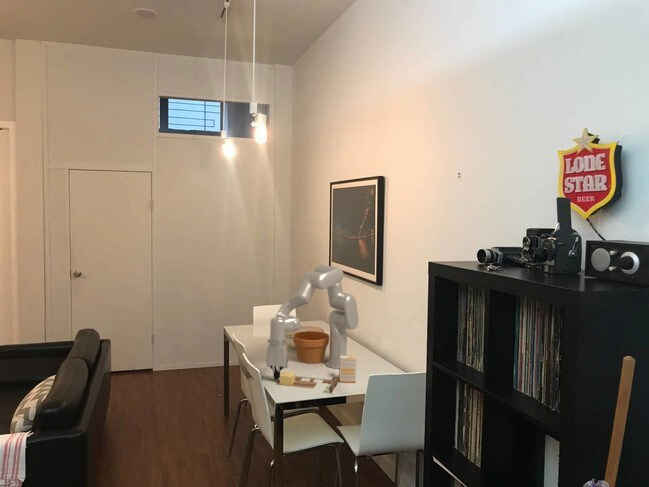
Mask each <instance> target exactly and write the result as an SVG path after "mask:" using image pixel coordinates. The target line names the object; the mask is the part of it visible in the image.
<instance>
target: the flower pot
mask: <svg viewBox="0 0 649 487" xmlns="http://www.w3.org/2000/svg"><path fill="white" fill-rule="evenodd" d="M292 338H293V339H292V340H293V341H292V342H293V344H294V345H295V351H296V356H297V359H298V361H299V362H301V363H303V364H312V365H313V364H315V365H316V364H319V363H322V362H323V361H324V358H325V355H326V352H327V351H326V350H327V346H328V344H329V345H330V334H328V333H326V332H322V331H316V330H314V331H313V330H304V331H298V332H295V333H293V335H292Z"/></svg>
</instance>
